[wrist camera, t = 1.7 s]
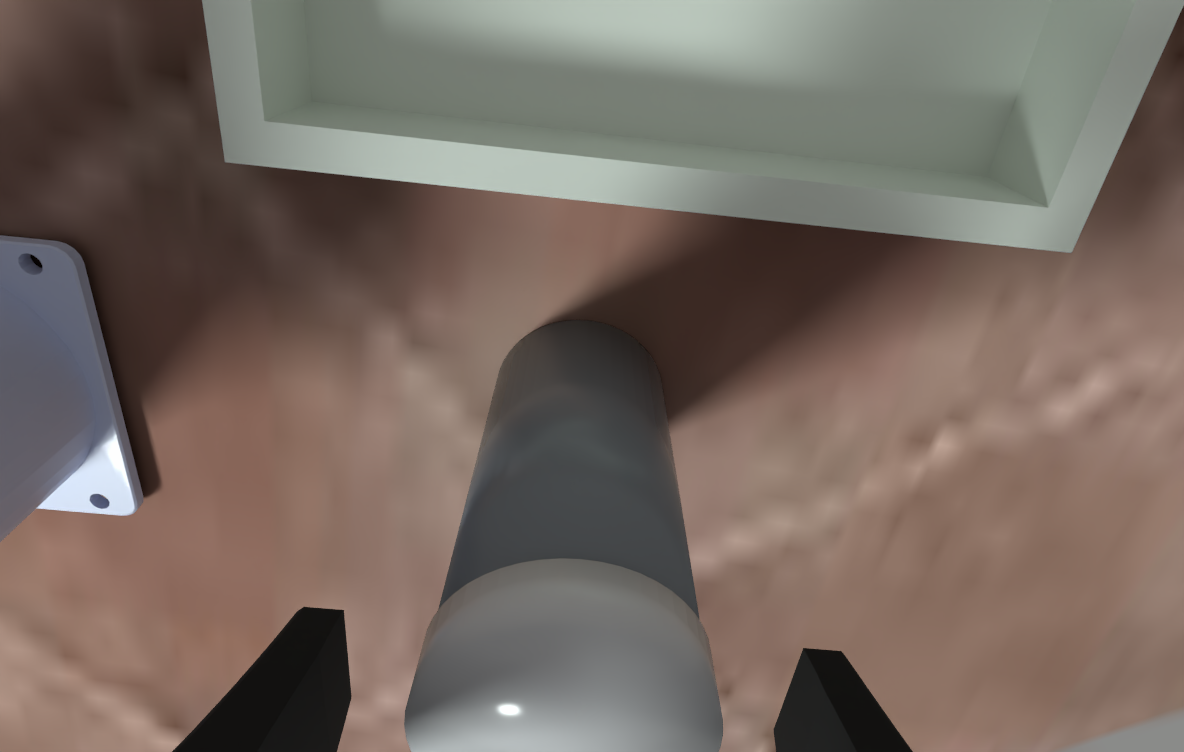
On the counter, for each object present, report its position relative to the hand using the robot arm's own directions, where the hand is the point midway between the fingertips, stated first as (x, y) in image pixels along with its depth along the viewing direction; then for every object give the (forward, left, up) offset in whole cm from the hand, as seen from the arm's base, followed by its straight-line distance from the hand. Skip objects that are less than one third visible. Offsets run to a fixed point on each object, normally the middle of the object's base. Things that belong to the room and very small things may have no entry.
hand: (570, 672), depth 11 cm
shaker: (0, 0, -9) cm, 9 cm away
